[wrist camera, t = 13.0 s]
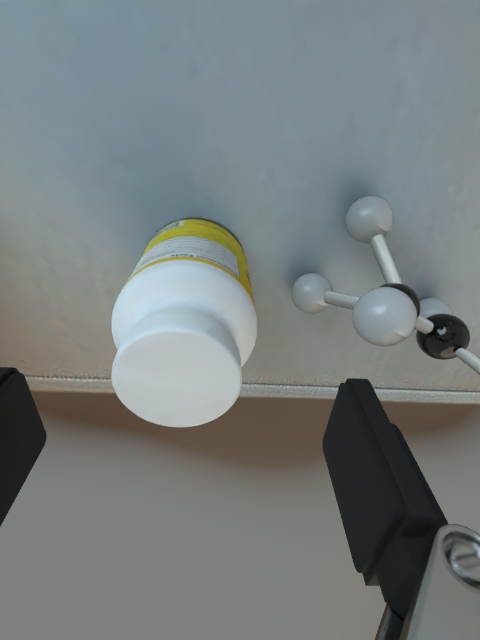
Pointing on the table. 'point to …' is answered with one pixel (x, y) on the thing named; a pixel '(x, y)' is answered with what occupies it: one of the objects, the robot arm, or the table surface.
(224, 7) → the table surface
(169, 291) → the pill bottle
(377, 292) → the molecular model
